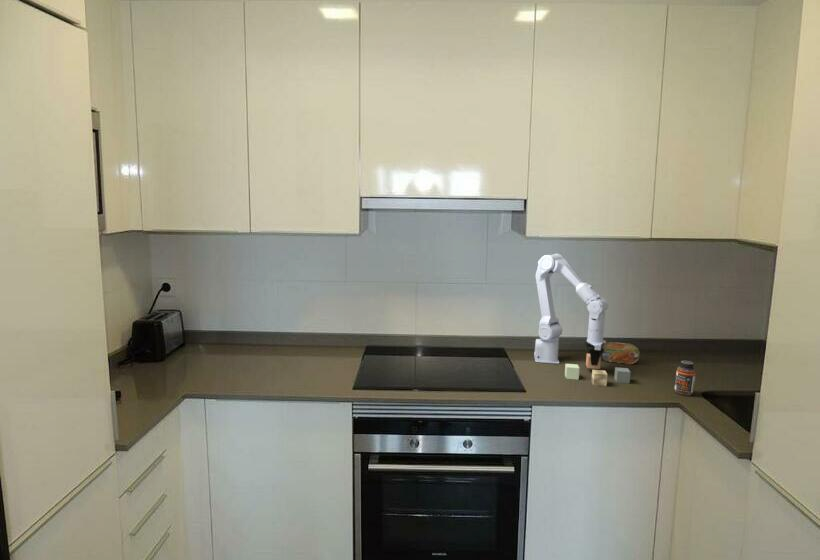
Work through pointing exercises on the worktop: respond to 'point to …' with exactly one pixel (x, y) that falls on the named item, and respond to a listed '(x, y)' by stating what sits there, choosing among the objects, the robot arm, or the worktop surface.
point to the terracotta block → (588, 362)
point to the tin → (620, 353)
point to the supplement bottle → (685, 378)
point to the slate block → (622, 375)
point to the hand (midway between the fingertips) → (593, 363)
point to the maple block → (599, 377)
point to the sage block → (572, 371)
